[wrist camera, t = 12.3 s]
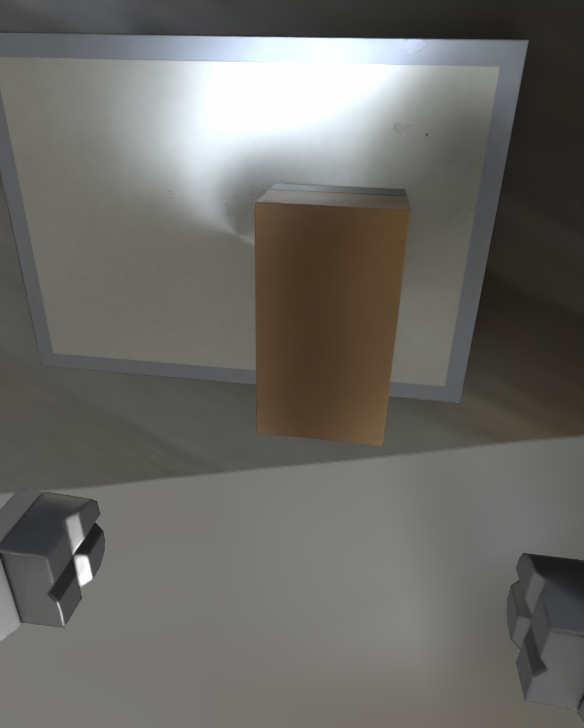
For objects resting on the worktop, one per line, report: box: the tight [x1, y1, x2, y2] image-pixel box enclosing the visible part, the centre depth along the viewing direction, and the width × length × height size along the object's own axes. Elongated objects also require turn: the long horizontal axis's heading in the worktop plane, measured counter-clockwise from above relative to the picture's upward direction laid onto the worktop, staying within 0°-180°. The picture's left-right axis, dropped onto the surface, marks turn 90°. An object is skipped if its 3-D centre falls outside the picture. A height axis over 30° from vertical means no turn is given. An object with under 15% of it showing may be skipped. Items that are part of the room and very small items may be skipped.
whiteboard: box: [0, 32, 529, 402], centre depth 23 cm, size 20×14×1 cm
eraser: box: [255, 183, 411, 446], centre depth 21 cm, size 5×9×4 cm, turn 179°
